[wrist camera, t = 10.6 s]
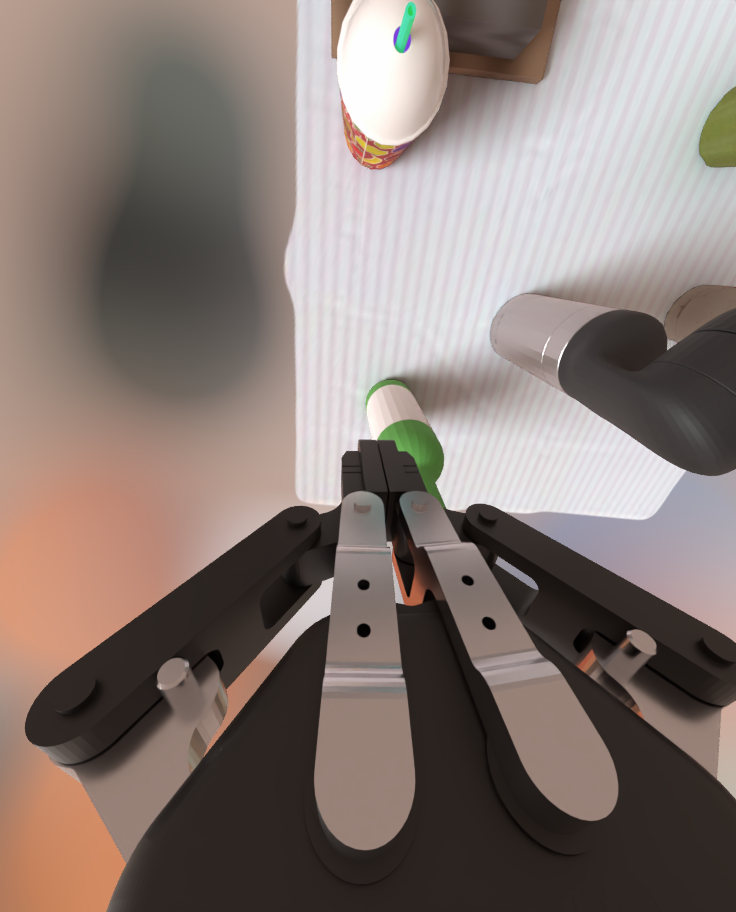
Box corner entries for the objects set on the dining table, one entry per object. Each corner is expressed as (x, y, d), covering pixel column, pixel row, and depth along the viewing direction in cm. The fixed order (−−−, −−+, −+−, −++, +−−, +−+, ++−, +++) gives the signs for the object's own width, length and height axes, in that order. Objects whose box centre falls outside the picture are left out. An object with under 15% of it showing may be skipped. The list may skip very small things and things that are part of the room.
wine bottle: (401, 426, 55) (458, 571, 29) (358, 415, 53) (379, 558, 27) (418, 385, 51) (501, 509, 25) (373, 371, 49) (414, 490, 24)
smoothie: (349, 58, 32) (364, -171, 15) (423, 99, 34) (511, -62, 17) (328, 162, 36) (320, 75, 19) (395, 193, 38) (443, 140, 21)
